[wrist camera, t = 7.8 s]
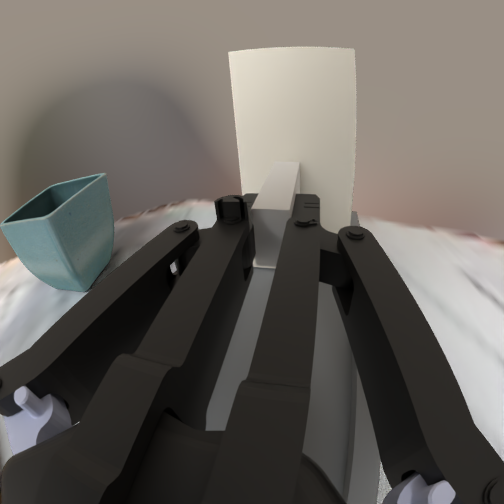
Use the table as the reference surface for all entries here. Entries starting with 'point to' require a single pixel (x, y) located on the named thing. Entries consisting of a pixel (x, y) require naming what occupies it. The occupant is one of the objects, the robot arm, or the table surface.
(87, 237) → the flower pot
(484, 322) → the table surface
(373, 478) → the grey chute
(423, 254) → the table surface
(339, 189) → the cream block
